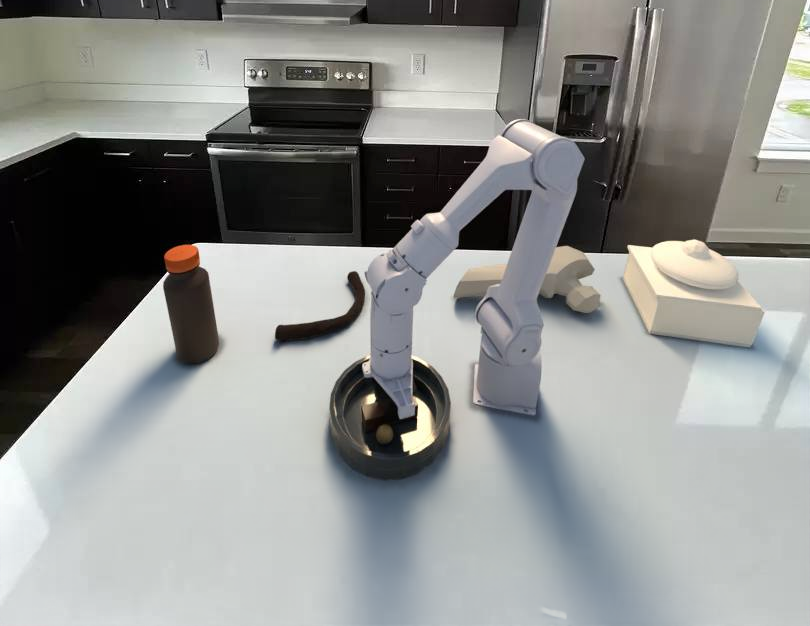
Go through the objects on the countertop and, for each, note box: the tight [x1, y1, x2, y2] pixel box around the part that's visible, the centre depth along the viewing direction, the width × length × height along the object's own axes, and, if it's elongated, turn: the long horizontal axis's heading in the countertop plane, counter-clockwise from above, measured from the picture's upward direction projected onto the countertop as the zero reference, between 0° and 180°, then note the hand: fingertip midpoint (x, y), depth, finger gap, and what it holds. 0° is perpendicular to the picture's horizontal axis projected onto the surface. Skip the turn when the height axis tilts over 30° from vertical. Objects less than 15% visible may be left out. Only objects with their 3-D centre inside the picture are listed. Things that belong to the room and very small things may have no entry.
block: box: [362, 396, 418, 432], centre depth 63 cm, size 8×2×2 cm, turn 108°
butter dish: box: [622, 239, 766, 348], centre depth 86 cm, size 18×18×16 cm
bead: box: [376, 424, 393, 445], centre depth 60 cm, size 2×2×2 cm
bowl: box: [328, 354, 452, 481], centre depth 63 cm, size 17×17×4 cm
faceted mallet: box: [453, 245, 601, 314], centre depth 89 cm, size 30×14×11 cm, turn 88°
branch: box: [274, 270, 366, 342], centre depth 84 cm, size 23×10×3 cm, turn 147°
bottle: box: [162, 244, 220, 365], centre depth 72 cm, size 7×7×20 cm
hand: (390, 410), depth 63 cm, fingers closed on block, 2 cm apart
